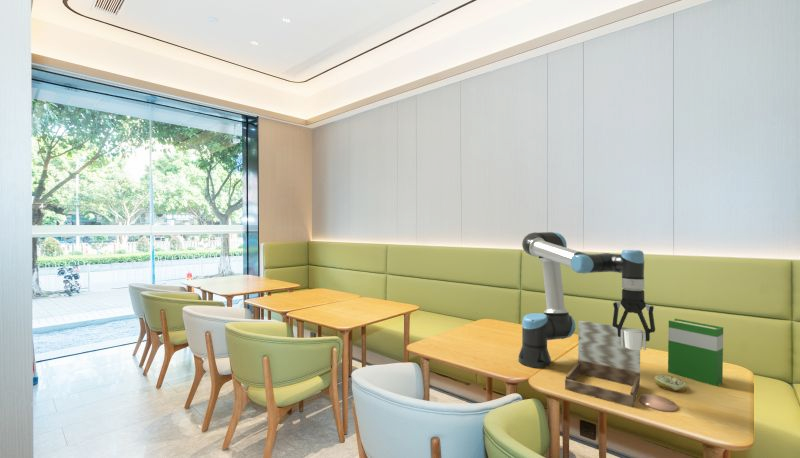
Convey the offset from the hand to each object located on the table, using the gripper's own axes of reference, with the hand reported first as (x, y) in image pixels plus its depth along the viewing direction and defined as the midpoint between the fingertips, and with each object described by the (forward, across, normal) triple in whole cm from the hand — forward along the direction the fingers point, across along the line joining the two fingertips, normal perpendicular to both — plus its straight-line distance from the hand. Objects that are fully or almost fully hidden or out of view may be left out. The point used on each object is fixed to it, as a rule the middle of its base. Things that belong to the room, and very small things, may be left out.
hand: (633, 347), depth 146 cm
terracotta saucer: (+20, +8, 0) cm, 21 cm away
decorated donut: (+20, +10, +21) cm, 31 cm away
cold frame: (+20, -11, +2) cm, 23 cm away
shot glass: (+1, 0, 0) cm, 1 cm away
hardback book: (+20, +18, +40) cm, 48 cm away
